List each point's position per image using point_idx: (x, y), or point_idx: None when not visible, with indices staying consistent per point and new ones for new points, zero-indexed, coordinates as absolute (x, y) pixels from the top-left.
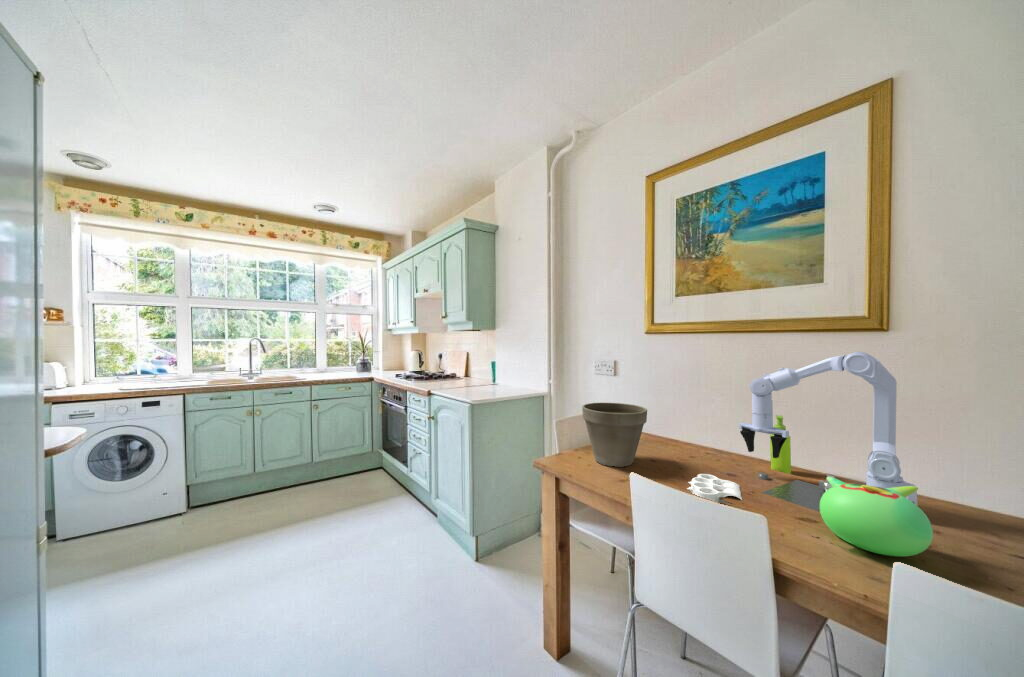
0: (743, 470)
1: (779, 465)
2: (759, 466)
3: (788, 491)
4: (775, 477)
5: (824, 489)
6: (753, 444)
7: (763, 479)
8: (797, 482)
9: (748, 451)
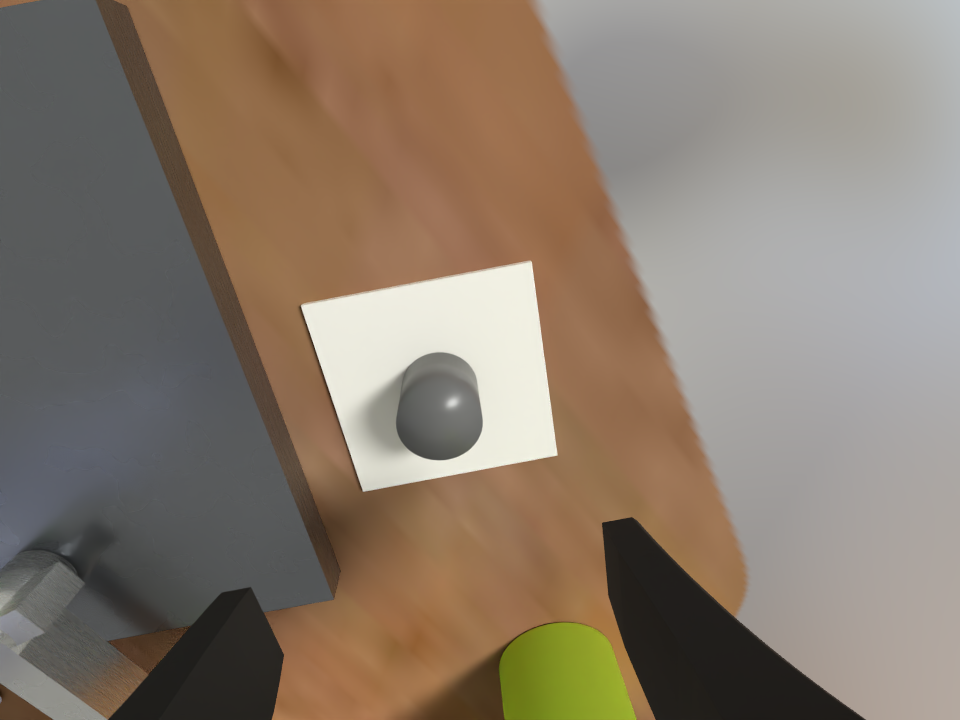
0: (700, 474)
1: (542, 689)
2: None
3: (97, 316)
4: (493, 555)
5: (29, 570)
6: (655, 709)
7: (413, 377)
8: (282, 558)
9: (636, 521)
